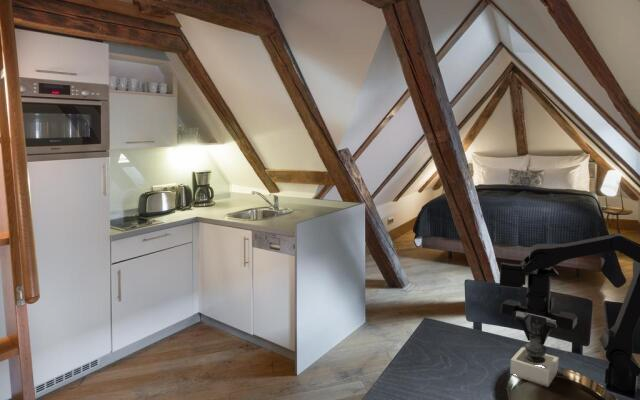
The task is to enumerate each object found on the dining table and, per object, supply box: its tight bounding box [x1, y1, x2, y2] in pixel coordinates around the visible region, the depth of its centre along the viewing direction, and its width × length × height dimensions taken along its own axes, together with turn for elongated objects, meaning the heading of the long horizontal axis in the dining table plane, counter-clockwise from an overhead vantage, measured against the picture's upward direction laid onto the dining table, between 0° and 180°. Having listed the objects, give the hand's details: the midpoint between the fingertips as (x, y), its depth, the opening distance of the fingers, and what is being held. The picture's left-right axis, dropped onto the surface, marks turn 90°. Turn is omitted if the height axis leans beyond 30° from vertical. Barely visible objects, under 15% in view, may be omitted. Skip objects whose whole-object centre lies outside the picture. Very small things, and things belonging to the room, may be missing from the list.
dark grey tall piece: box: [523, 318, 548, 363], centre depth 122 cm, size 6×6×12 cm
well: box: [509, 346, 560, 388], centre depth 124 cm, size 10×10×4 cm
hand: (536, 342), depth 123 cm, fingers closed on dark grey tall piece, 3 cm apart
